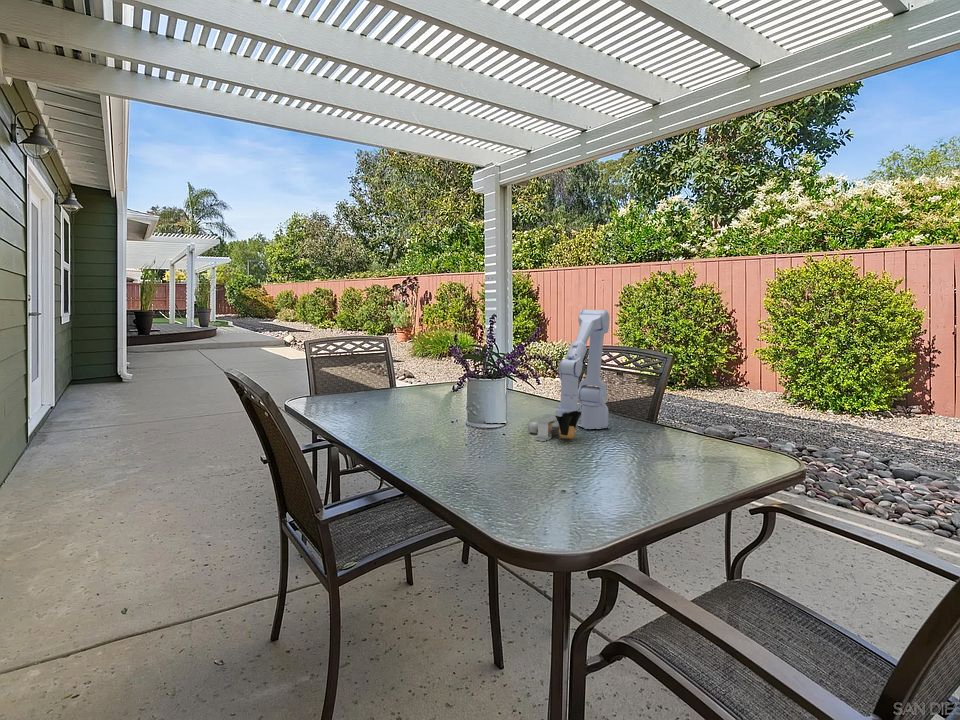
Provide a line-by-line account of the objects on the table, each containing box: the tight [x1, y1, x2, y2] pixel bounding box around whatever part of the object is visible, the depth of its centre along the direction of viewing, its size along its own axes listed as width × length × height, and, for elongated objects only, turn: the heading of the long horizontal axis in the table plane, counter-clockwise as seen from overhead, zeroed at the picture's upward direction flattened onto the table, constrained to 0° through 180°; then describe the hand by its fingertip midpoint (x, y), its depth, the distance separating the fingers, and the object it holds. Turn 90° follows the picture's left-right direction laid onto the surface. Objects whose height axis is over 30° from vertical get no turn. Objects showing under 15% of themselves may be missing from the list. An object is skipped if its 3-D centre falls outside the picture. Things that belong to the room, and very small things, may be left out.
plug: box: [527, 421, 576, 440], centre depth 192 cm, size 16×4×4 cm, turn 52°
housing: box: [533, 414, 560, 442], centre depth 192 cm, size 4×16×6 cm, turn 143°
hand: (567, 433), depth 188 cm, fingers closed on plug, 4 cm apart
